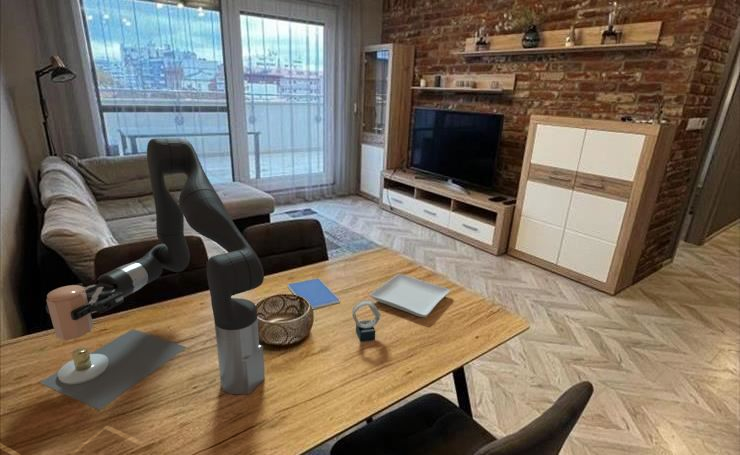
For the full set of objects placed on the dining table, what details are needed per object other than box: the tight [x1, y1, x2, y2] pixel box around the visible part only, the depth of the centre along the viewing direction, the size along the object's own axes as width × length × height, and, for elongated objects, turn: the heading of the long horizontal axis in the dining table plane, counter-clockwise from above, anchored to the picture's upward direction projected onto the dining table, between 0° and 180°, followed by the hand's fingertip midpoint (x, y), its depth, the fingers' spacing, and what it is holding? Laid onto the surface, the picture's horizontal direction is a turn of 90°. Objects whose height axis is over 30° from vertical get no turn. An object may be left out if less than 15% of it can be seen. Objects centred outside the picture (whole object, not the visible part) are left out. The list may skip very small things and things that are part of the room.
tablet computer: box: [286, 277, 341, 310], centre depth 137 cm, size 19×13×1 cm, turn 30°
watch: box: [352, 299, 381, 343], centre depth 113 cm, size 6×8×11 cm
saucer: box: [57, 353, 109, 385], centre depth 95 cm, size 10×10×1 cm
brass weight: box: [71, 346, 92, 371], centre depth 95 cm, size 3×3×4 cm
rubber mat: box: [39, 328, 188, 411], centre depth 98 cm, size 20×24×1 cm
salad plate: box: [369, 273, 451, 318], centre depth 135 cm, size 21×21×3 cm
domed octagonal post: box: [45, 284, 94, 341], centre depth 90 cm, size 7×7×10 cm
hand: (60, 313), depth 88 cm, fingers closed on domed octagonal post, 7 cm apart
